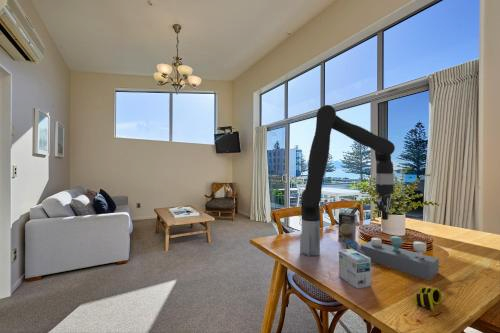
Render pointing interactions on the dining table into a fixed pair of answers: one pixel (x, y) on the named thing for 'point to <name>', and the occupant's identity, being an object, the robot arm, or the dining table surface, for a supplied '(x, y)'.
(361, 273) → the light bulb box
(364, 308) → the dining table surface
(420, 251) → the outer knob
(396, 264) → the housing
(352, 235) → the coffee box
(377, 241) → the inner knob
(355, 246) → the label tape cartridge
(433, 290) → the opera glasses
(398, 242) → the middle knob
